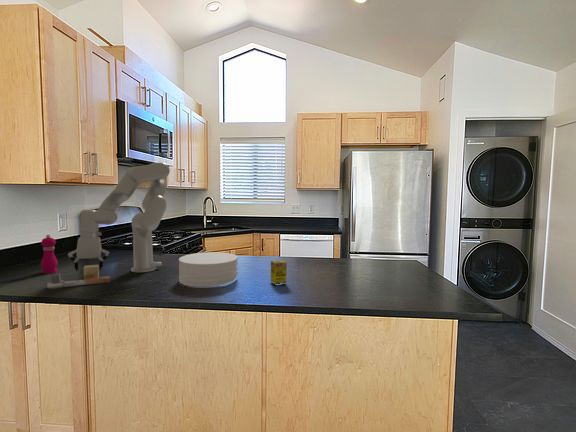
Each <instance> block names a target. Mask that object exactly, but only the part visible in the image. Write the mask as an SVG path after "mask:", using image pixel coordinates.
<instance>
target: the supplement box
mask: <svg viewBox="0 0 576 432" xmlns="http://www.w3.org/2000/svg"><path fill="white" fill-rule="evenodd" d="M287 266H288V264H287V261H285V260H270V280H269V281H271V282H273V283H274V284H280V283H286V284H287V268H288V267H287Z"/></svg>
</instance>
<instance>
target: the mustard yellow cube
mask: <svg viewBox="0 0 576 432" xmlns="http://www.w3.org/2000/svg"><path fill="white" fill-rule="evenodd" d="M99 270H100V269H99V264H89V265H84V266H83V280H84V279H86V278H94V277H100V271H99Z"/></svg>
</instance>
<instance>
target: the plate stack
mask: <svg viewBox="0 0 576 432" xmlns="http://www.w3.org/2000/svg"><path fill="white" fill-rule="evenodd" d="M178 263H179V264H178V268H179V270H178V273H179V274H178V278H179V280H178V283H179V282H180V283H182V284H184V285H190V286H193V285H194V286H211V285H220V284H222V285H223V284H225V283H228V282H231V281H233V280H234V279H235V278H236V277H238V272H239V271H238V255H236V254H234V253H229V252H219V251H218V252H215V251H211V252H207V251H206V252H197V253H195V252H194V253H190V254H186V255H182V256H181V257H179V259H178ZM180 283H179V284H180Z"/></svg>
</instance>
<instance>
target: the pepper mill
mask: <svg viewBox="0 0 576 432" xmlns="http://www.w3.org/2000/svg"><path fill="white" fill-rule="evenodd" d="M45 236H46V237H45V238H43V239H42V240H41V242H40V244H41V246H42V250H43V257H42V259H41V262H40V267H41V268H42V270H41V271H42V272H41V273H42V274H44V273H45V275H46V274H55V273H57V272H58V268H57V266H58V264H59V263H58V259H57V256H56V255H55V245H56V243H57V242H56V240H55V238H54V237H51V235H50V234H47V235H45Z"/></svg>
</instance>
